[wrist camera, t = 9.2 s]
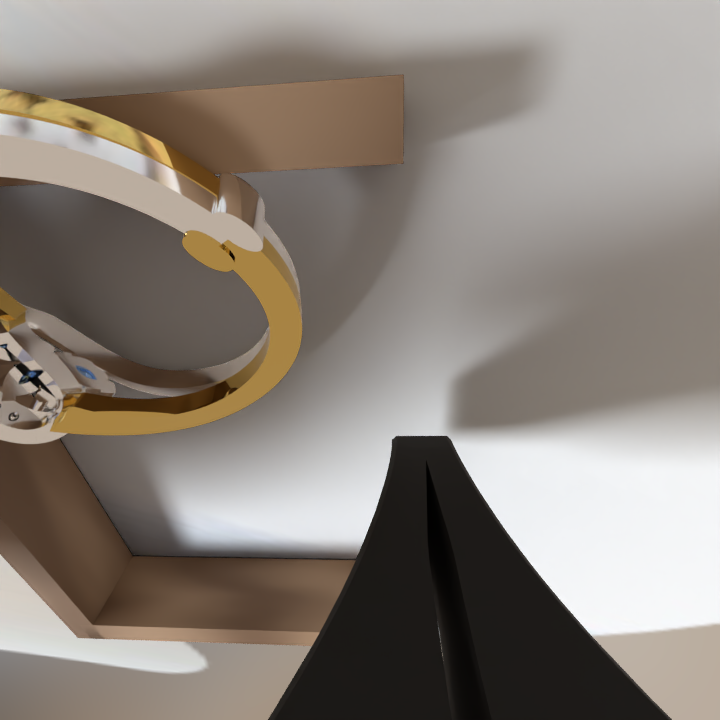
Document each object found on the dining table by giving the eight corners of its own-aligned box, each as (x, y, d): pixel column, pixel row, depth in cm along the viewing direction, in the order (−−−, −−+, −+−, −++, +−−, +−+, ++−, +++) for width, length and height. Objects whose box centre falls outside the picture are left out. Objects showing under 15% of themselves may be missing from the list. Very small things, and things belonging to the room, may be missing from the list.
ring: (387, 385, 7) (146, 473, 11) (369, 261, 9) (165, 374, 12) (-264, -35, 2) (-312, 402, 6) (-18, -148, 4) (-178, 247, 7)
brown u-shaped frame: (118, 569, 16) (78, 637, 14) (-179, 131, 8) (-392, 132, 6) (398, 575, 15) (401, 648, 13) (396, 90, 7) (403, 73, 5)
